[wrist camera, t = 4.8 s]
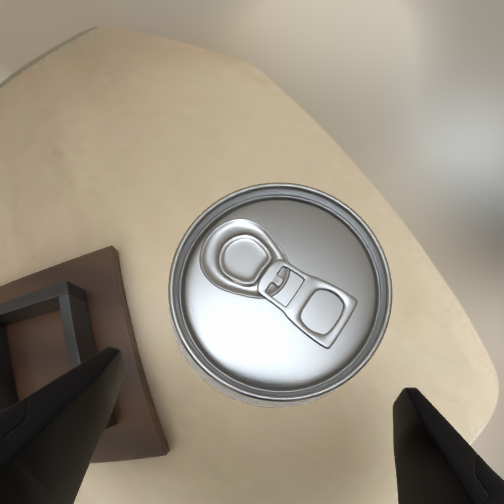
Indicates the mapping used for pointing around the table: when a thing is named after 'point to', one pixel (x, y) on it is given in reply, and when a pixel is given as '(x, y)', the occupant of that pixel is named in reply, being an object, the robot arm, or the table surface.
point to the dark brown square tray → (78, 346)
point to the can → (279, 294)
